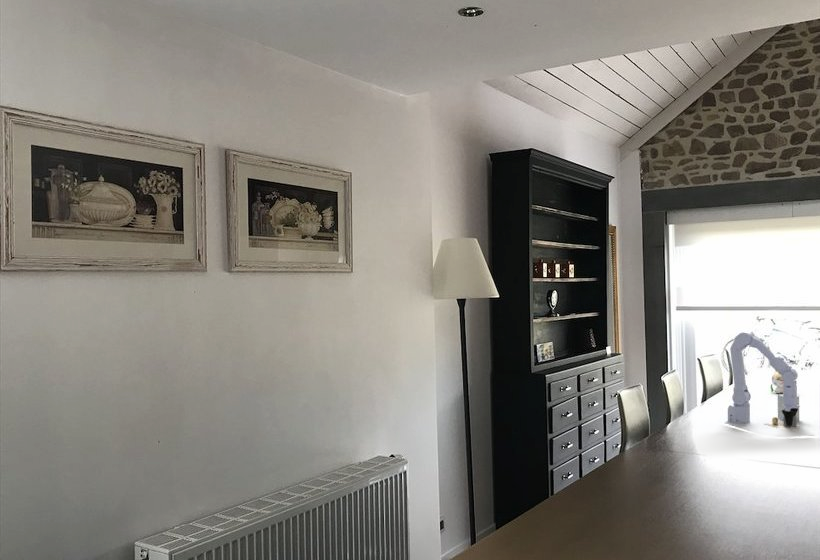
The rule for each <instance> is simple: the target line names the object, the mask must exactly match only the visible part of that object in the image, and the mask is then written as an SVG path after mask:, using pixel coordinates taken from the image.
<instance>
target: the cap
mask: <svg viewBox="0 0 820 560" xmlns="http://www.w3.org/2000/svg"><path fill="white" fill-rule="evenodd" d="M797 422H798V421H797V418H796V416H794V417H793V422H792V426H787V425H786V421H785V417H784V420H783V423H784V426H786V427H790V428H797V427H796V426H798V424H797Z"/></svg>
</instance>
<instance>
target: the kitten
mask: <svg viewBox="0 0 820 560" xmlns="http://www.w3.org/2000/svg"><path fill="white" fill-rule="evenodd" d="M774 371H775V372H774V373H773V374H772V377H771V384H770V392H771V391H775V392H776V393H775V392H774V393H775V394H778V393H779V394H783V379H782V377H781V376H782V375H780V374H779V373H778V372H777V371H776V370H774ZM773 386H776V388H775V390H774V388H773Z"/></svg>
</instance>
